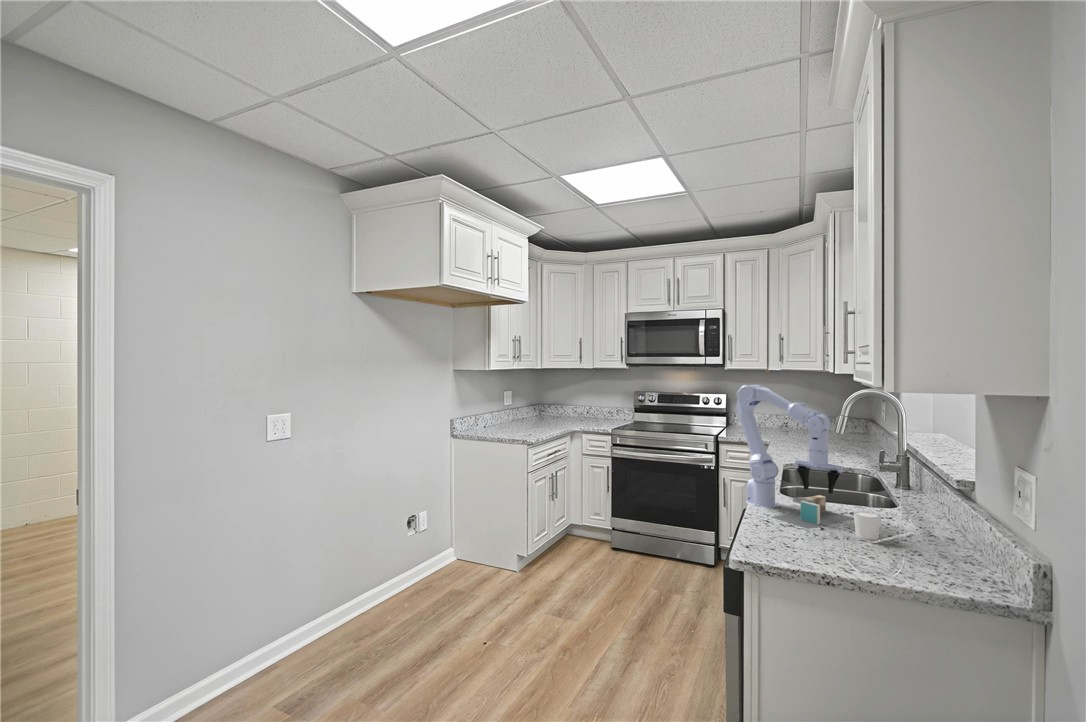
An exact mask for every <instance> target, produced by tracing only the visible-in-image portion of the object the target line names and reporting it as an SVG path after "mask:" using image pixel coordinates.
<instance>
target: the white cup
mask: <svg viewBox="0 0 1086 722" xmlns="http://www.w3.org/2000/svg"><path fill="white" fill-rule="evenodd" d="M853 518H854V519H853V520H854V530H855V531H854V532H855V536H856V537H858V538H861V539H866V540H872V542H879V538H880V537H879V536H880V530H881V529H880V528H881V520H882V519H881V515H880V514H877V513H873V512H870V511H869V512H867V511H855V512H853Z"/></svg>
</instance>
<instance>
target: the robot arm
mask: <svg viewBox="0 0 1086 722" xmlns="http://www.w3.org/2000/svg"><path fill="white" fill-rule="evenodd" d="M735 395H736V398H737V401H736V410H735V411H736V415H737V416H738V420H739V422H740V425H741V429H742V431H743V435H744V438H745V441H746V443H747V447H748V451H749V453H750V455H751V456H750V459H749V462H748V463H749V466H750V467H749V468H750V470H749V473H750V476H751V478H750V479H749V480H748V481H747V484H746V501H745V503H747V504H748V503H749V504H750V505H753V506H758V507H761V508H764V509H768V508H773V507H780V506H782V505H781V504H778V503H776V478H777V476H778V474H779V467H778V465H777V464H776V463H775V462H774V459H773V457H772V456H771V455H770V454H769V453H768V452H767V449H766V447H765V444H764V441H763V440H764V439H763V437H762V435H761V432H760V430H759V425H758V422H757V420H756V417H755V414H754V410H755V409H756V407H757V405H759V404H760V403H761V402H768V403H770V404H772V405H773V406H776V407H778V408H779V409H782V410H784V411H785V412H786V414H787V416H788V417H789V418H791V419H792V420H794V421H796V422H798V423H800V424H802V425H804V426H805V427H806V429H807V430H808V460H807V461H806V460H797V459H796V460H794V467H797V468H796V470H797V473H798V475H799V476H800V479H801V482H802V485H803V489H804V490H808V489H809V486H810V481H809V480H810V479H809V478H810V477H809V476H810V471H811V470H810V469H813V470H814V469H815V470H819V471H826V472H827V471H828V472H827V479H828V494H833V493H834V488H835V485H836V483H837V481H838V479H839V477H840V475H841V474H842V473H844V466H843V465H836V464H831V463H829V429H831V426H832V421H831V419H830V418H829V416H827V415H826V414H824V413H818V411H817V410H813V409H811V408H809V407H807V406H805V405H806V404H805V403H804V402H797V401H796V402H793V403H792V402H791V401H789V400H787V399H785V397H782V396H781V395H779V394H778V393H776V392H775V391H772V390H771V389H770V388H768V387H766V386H765V387H764V386H763V385H762V384H749V385H748V384H744V385H742V386H740V387H739V388H738V390H737V392H736V393H735Z"/></svg>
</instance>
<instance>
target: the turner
mask: <svg viewBox="0 0 1086 722" xmlns="http://www.w3.org/2000/svg"><path fill="white" fill-rule="evenodd" d="M826 499H827V496H825V495H824V496H823V495H821V494H820V495H819V494H818V495H812V496H807V497H803V496H797V497H792V503H796V504H800V505H801V501H806V502H810V503H814V504H818V505H820V512H824V511H827V510H826V509H827V508H826V506H827V503H826V502H827V501H826Z"/></svg>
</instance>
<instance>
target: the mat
mask: <svg viewBox="0 0 1086 722" xmlns="http://www.w3.org/2000/svg"><path fill="white" fill-rule="evenodd" d="M770 518H771V519H776V520H779V521H781V522H785V523H788V524H791V525H795V526H798V527H802V528H805V529H809V530H811V529H814V528H818V527H819V528H820V527H822V526H829V525H833V524H839V523H843V522H848V521H852V520H854V516H853V517H852V516H849V515H845V514H840V513H837V512H832V511H830V510H826V511H824V512H820V524H818V525H817V524H814V523H811V522H807V521H804V520H801V510H800V511H795V512H790V513H785V514H779V515H773V516H770Z"/></svg>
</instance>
